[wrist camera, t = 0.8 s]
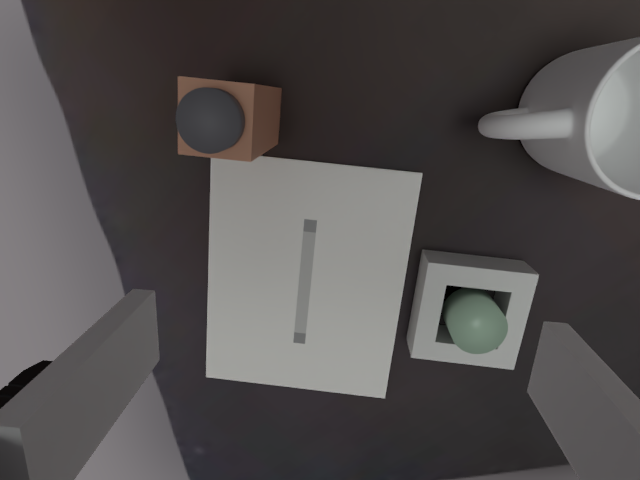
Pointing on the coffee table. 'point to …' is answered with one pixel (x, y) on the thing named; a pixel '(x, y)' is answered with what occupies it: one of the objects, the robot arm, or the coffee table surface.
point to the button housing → (473, 272)
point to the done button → (474, 320)
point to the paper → (307, 272)
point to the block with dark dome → (226, 118)
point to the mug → (582, 117)
